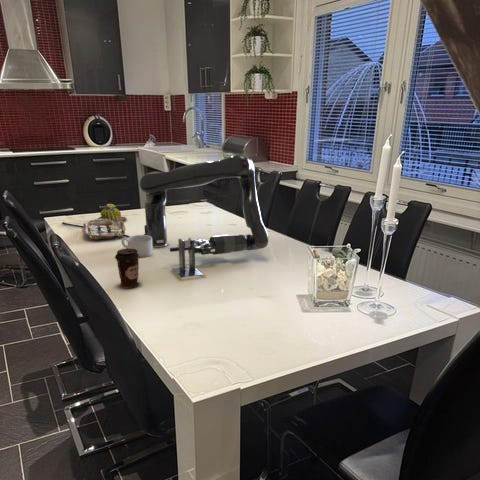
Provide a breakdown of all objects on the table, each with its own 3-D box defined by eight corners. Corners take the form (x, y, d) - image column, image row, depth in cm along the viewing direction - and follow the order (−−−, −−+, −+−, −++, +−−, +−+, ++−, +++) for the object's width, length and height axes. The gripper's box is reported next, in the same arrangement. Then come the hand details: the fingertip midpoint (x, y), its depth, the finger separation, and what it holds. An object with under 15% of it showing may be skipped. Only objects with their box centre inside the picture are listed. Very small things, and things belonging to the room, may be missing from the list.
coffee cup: (146, 283, 172) (143, 249, 167) (134, 290, 165) (131, 255, 160) (125, 280, 175) (122, 246, 169) (113, 287, 168) (109, 252, 162)
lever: (170, 253, 186) (169, 247, 186) (189, 251, 189) (188, 245, 189) (177, 247, 175) (176, 241, 175) (198, 245, 178) (196, 239, 178)
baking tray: (131, 240, 228) (130, 229, 226) (84, 244, 221) (83, 232, 219) (121, 227, 254) (120, 217, 252) (80, 230, 246) (78, 219, 244)
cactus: (122, 224, 260) (121, 206, 256) (94, 224, 260) (92, 206, 256) (129, 218, 275) (128, 201, 271) (102, 217, 275) (101, 200, 271)
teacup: (158, 254, 207) (157, 236, 204) (143, 260, 198) (142, 242, 195) (132, 250, 212) (131, 233, 209) (117, 256, 203) (115, 238, 200)
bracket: (172, 271, 186) (170, 236, 180) (193, 268, 189) (192, 234, 183) (181, 280, 176) (179, 244, 170) (203, 277, 179) (202, 242, 173)
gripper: (216, 231, 198) (179, 235, 192) (229, 239, 186) (190, 243, 180) (216, 249, 201) (180, 252, 195) (229, 257, 189) (191, 262, 183)
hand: (185, 248), depth 188 cm, fingers open, 8 cm apart
